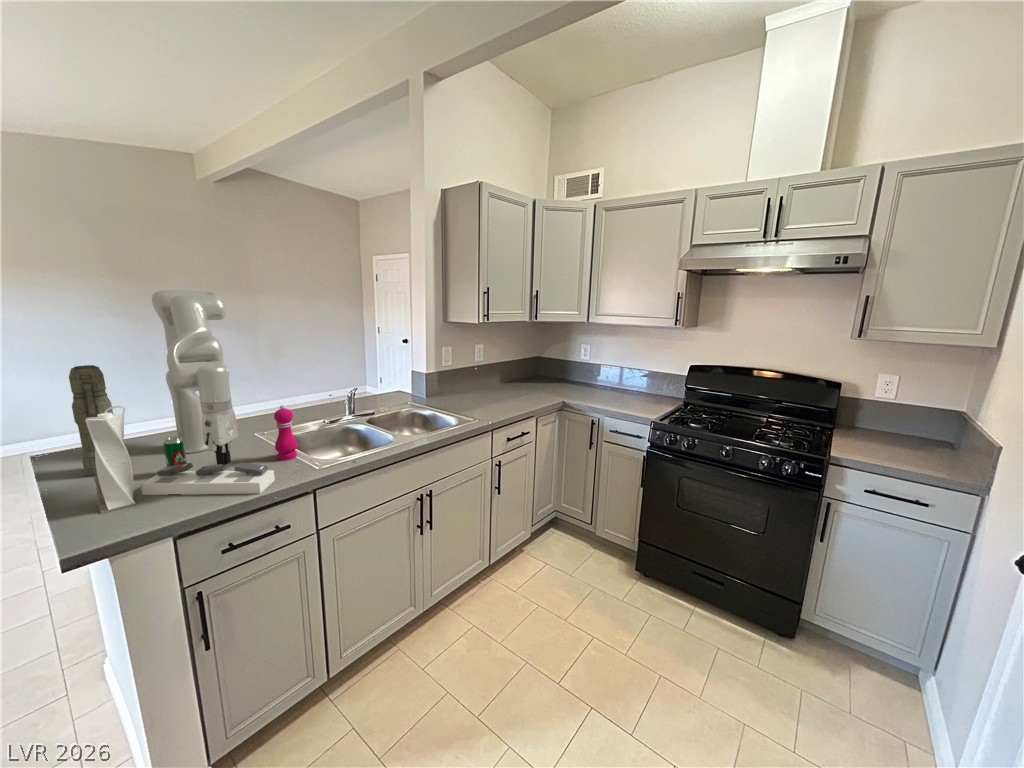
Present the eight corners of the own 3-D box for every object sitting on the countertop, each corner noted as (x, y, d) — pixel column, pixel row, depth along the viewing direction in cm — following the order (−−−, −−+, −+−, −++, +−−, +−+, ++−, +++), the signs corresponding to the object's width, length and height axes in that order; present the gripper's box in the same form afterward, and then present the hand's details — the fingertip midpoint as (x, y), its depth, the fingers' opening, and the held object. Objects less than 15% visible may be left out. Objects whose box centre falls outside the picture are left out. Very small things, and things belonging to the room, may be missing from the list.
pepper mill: (293, 452, 155) (288, 401, 150) (301, 457, 150) (297, 404, 146) (272, 457, 149) (267, 404, 145) (281, 462, 145) (275, 408, 140)
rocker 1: (158, 477, 123) (156, 471, 123) (167, 472, 127) (165, 466, 126) (185, 473, 124) (183, 467, 123) (193, 468, 127) (191, 462, 127)
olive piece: (88, 480, 127) (66, 370, 120) (82, 470, 134) (61, 365, 127) (126, 471, 134) (107, 367, 127) (119, 462, 141) (101, 362, 134)
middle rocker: (197, 477, 124) (195, 471, 124) (204, 472, 128) (203, 466, 127) (224, 472, 125) (222, 466, 124) (230, 467, 128) (229, 462, 128)
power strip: (142, 494, 119) (140, 483, 118) (165, 481, 128) (163, 470, 127) (260, 493, 122) (259, 482, 122) (274, 480, 131) (273, 469, 130)
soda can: (171, 470, 136) (166, 436, 133) (190, 468, 137) (185, 435, 135) (165, 476, 131) (159, 441, 129) (184, 474, 133) (179, 440, 130)
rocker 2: (234, 472, 125) (234, 466, 125) (240, 467, 128) (241, 462, 128) (261, 476, 126) (262, 470, 126) (267, 471, 130) (267, 465, 129)
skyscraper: (138, 494, 119) (122, 402, 114) (143, 504, 114) (126, 408, 108) (98, 504, 113) (79, 408, 107) (101, 515, 108) (81, 414, 102)
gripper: (214, 413, 115) (222, 473, 119) (243, 400, 130) (249, 454, 133) (186, 413, 114) (194, 473, 118) (218, 400, 129) (225, 454, 133)
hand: (224, 463), depth 126 cm, fingers closed
